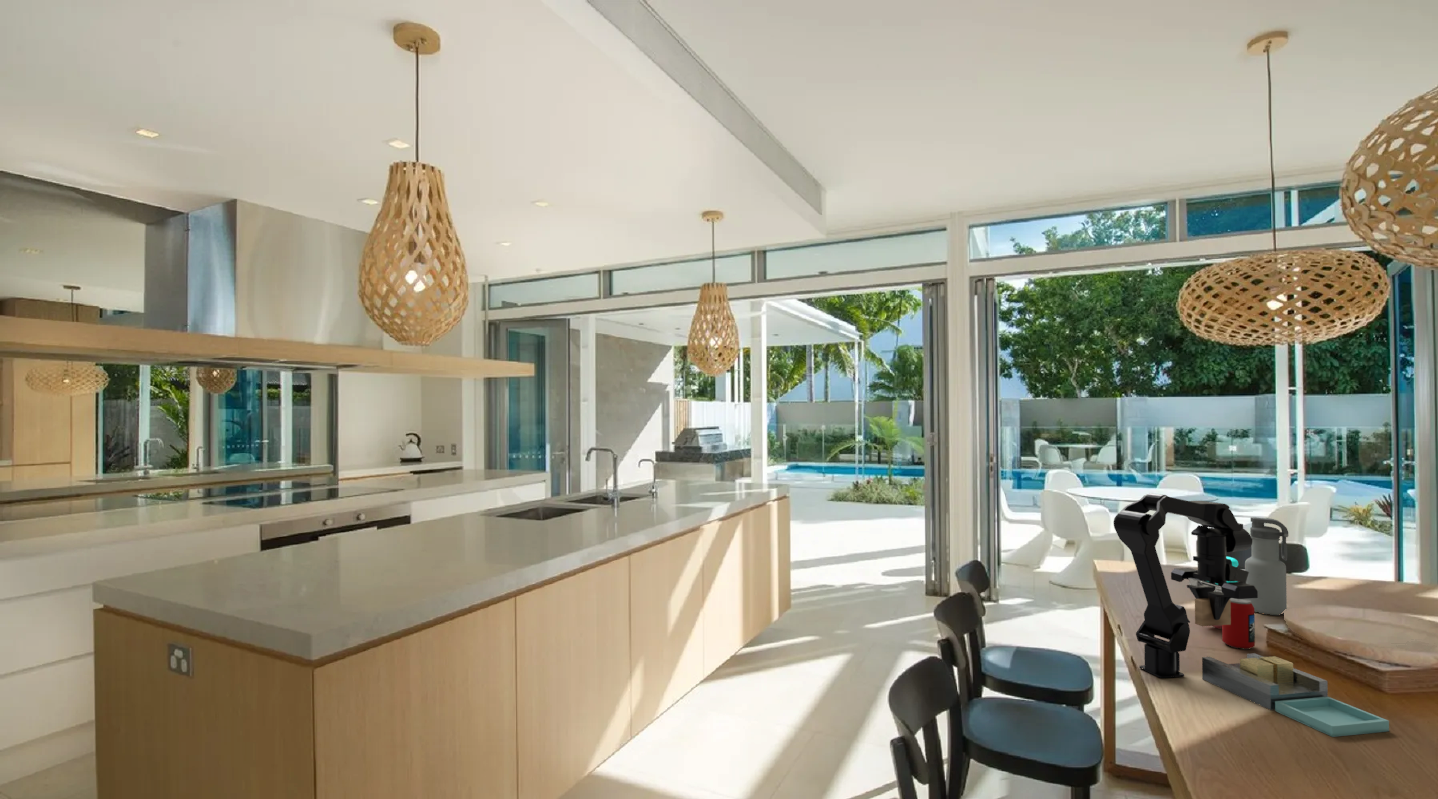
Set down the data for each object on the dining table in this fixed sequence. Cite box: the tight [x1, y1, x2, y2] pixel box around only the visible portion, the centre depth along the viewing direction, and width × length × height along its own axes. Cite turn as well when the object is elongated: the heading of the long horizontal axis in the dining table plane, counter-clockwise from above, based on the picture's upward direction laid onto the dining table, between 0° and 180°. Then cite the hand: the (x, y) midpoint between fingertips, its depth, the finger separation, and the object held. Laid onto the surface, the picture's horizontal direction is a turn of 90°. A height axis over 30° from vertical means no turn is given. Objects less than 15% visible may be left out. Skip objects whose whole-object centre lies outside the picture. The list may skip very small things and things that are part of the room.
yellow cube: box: [1259, 655, 1294, 683], centre depth 147 cm, size 4×4×4 cm
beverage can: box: [1221, 598, 1256, 650], centre depth 176 cm, size 7×7×12 cm
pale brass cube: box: [1239, 657, 1274, 683], centre depth 146 cm, size 4×4×4 cm
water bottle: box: [1244, 516, 1289, 616], centre depth 206 cm, size 10×10×28 cm
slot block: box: [1201, 652, 1329, 711], centre depth 147 cm, size 14×16×5 cm
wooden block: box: [1194, 598, 1231, 627], centre depth 164 cm, size 8×2×6 cm, turn 100°
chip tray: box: [1274, 696, 1390, 738], centre depth 134 cm, size 13×11×2 cm
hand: (1212, 618), depth 164 cm, fingers closed on wooden block, 2 cm apart
